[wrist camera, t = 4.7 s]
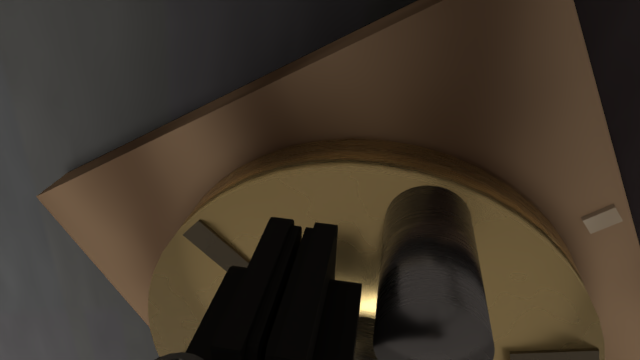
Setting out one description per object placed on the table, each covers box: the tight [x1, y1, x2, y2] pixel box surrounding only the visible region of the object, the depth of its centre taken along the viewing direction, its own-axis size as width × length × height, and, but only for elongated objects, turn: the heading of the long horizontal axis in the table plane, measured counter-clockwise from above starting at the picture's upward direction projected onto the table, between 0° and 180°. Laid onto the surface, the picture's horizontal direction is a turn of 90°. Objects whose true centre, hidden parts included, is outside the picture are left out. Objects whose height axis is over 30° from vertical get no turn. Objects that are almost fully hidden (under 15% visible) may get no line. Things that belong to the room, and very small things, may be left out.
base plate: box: [36, 0, 640, 360], centre depth 20 cm, size 20×20×2 cm
